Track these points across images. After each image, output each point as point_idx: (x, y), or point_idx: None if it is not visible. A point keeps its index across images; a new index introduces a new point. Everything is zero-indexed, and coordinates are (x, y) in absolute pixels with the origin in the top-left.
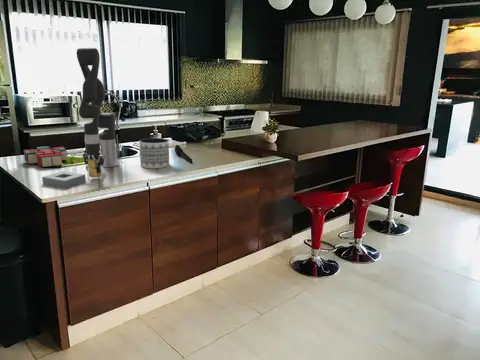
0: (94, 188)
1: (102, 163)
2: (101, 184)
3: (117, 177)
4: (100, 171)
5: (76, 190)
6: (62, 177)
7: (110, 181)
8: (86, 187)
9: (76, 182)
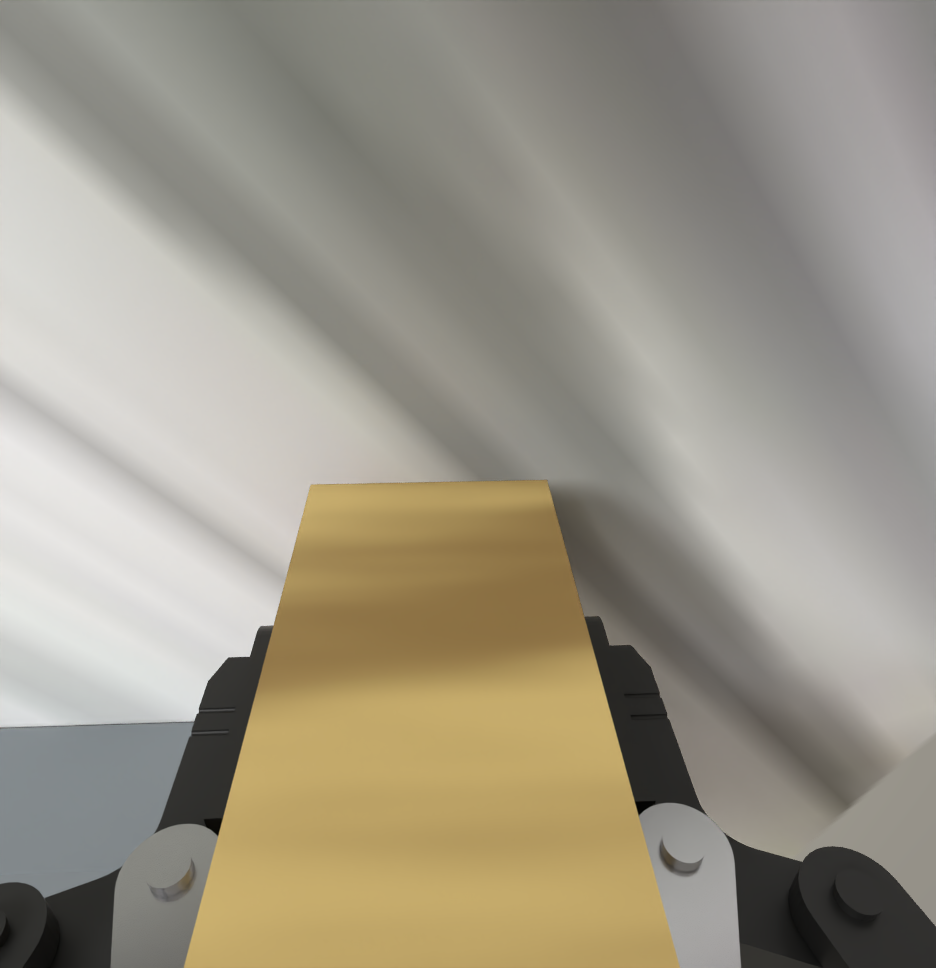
0: (793, 852)
1: (898, 962)
2: (792, 710)
3: (909, 111)
4: (638, 662)
5: None
6: None
7: (876, 514)
8: None
9: None
